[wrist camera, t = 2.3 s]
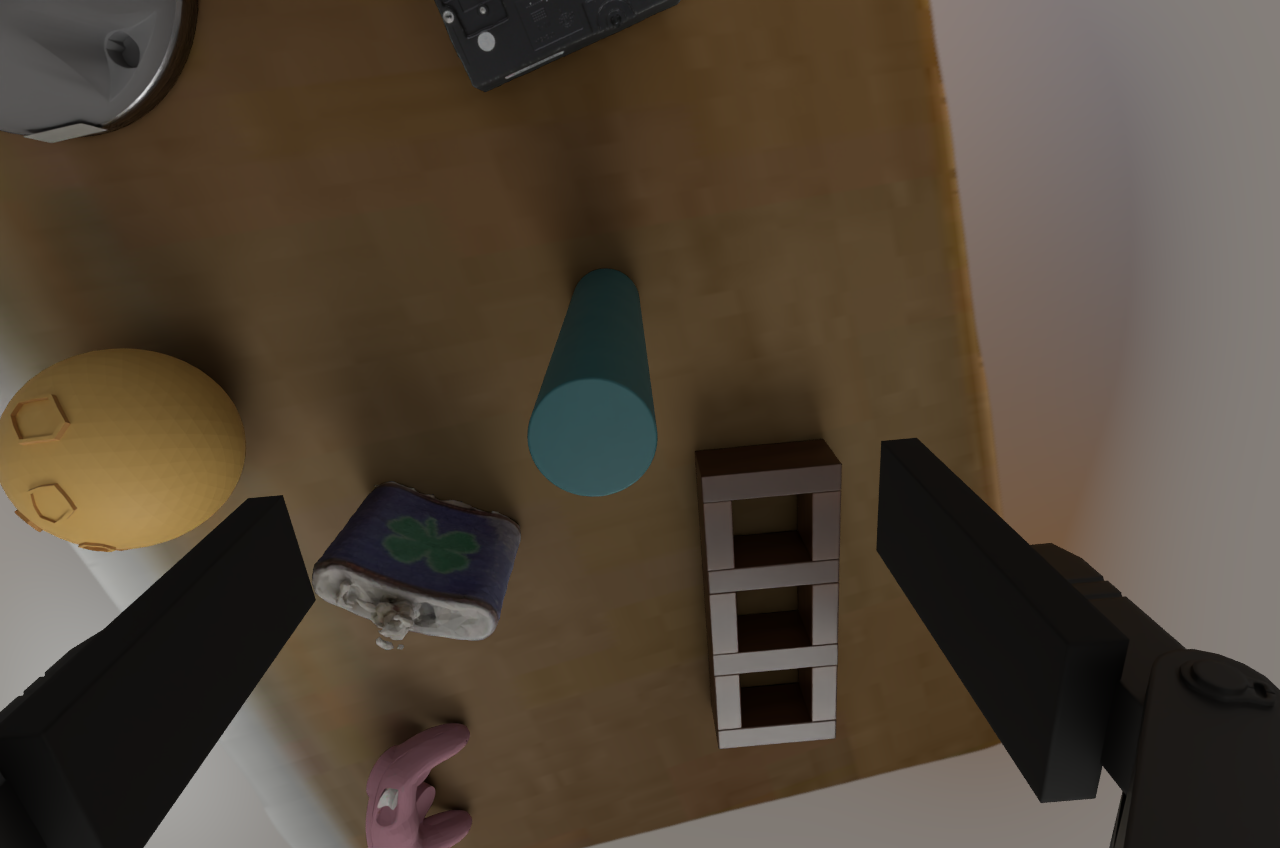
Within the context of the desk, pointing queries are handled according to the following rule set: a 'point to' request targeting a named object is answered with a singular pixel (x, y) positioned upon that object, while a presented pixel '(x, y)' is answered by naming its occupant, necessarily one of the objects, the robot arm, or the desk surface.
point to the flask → (420, 565)
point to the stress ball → (120, 449)
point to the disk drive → (532, 31)
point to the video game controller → (414, 793)
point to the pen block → (767, 565)
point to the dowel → (596, 393)
